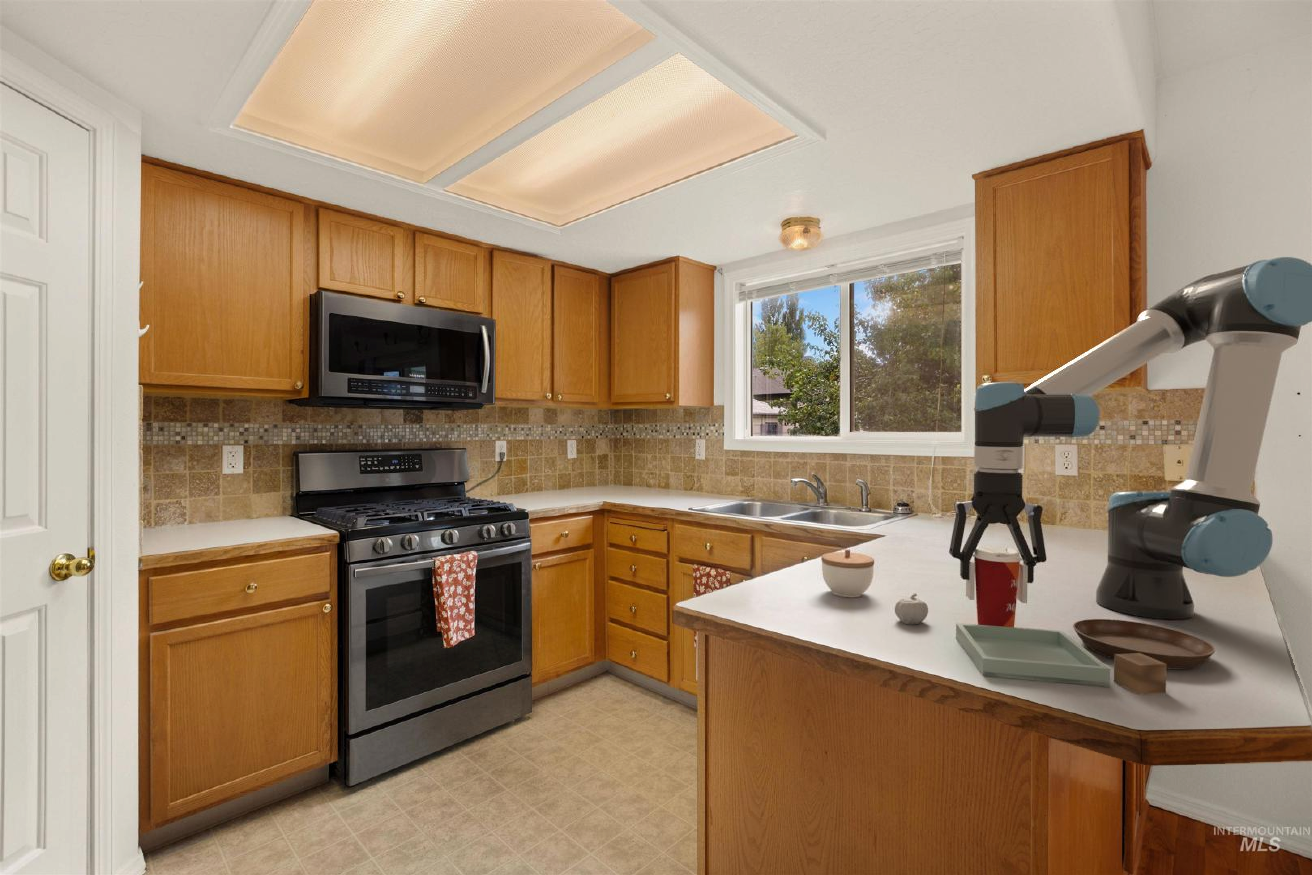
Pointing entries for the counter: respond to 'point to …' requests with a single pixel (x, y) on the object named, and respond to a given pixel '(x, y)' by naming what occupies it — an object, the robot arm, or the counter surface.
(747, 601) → the counter surface
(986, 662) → the tray
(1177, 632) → the plant saucer
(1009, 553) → the paper cup
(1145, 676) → the walnut block
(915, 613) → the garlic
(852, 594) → the lidded jar
